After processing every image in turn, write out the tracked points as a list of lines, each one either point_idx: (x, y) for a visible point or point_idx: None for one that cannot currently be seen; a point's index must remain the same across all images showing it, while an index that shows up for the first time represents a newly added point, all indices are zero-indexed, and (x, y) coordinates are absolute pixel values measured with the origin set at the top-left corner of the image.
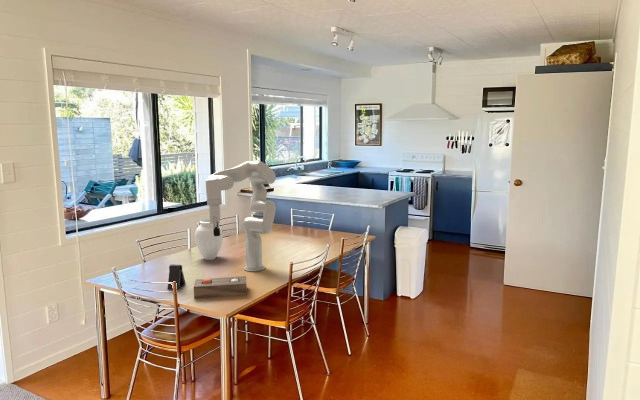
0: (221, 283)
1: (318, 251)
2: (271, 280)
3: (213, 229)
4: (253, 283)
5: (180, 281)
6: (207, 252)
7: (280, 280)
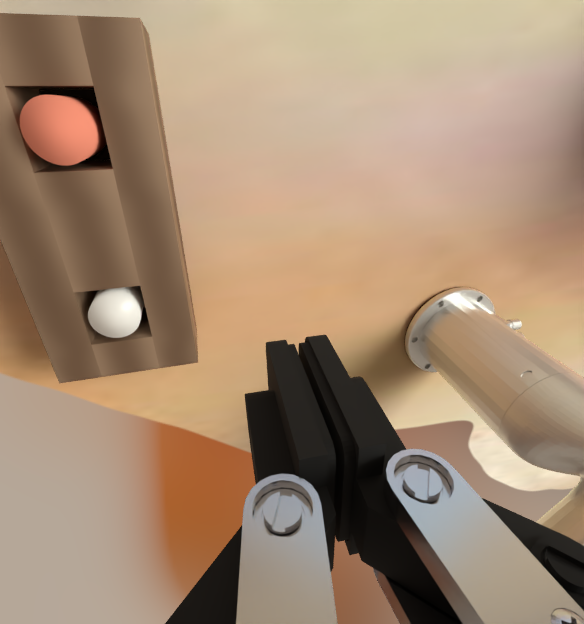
0: (43, 245)
1: (534, 488)
2: None
3: (297, 451)
4: (245, 351)
5: None
6: None
7: None
